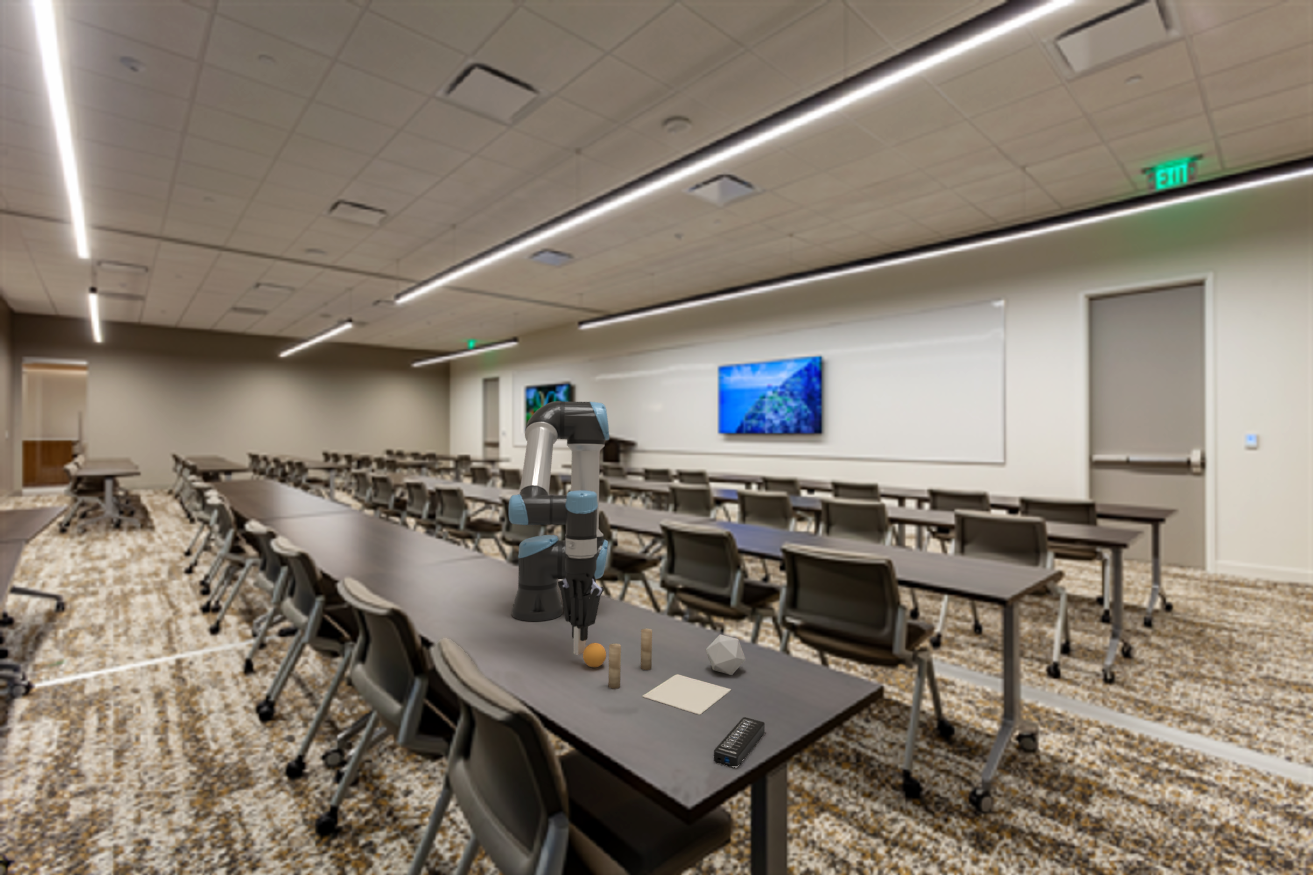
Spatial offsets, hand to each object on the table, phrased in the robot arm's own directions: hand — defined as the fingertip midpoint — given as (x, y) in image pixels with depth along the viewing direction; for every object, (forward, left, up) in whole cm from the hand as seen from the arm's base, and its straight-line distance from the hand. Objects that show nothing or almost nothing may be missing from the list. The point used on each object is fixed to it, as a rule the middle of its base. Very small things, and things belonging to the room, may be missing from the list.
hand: (579, 652), depth 146 cm
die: (-17, +31, -3) cm, 35 cm away
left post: (+6, +15, -3) cm, 16 cm away
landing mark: (-1, +30, -2) cm, 30 cm away
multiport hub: (+12, +48, -3) cm, 50 cm away
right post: (-7, +15, -2) cm, 17 cm away
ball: (0, +4, 0) cm, 4 cm away
